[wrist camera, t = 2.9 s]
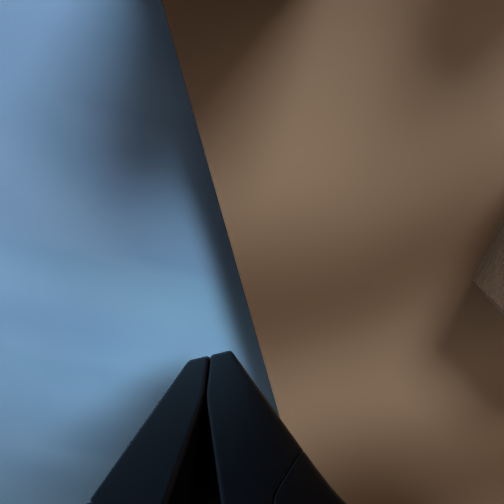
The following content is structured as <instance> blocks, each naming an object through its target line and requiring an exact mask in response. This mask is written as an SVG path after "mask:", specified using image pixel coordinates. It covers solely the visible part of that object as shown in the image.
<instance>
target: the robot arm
mask: <svg viewBox="0 0 504 504" xmlns="http://www.w3.org/2000/svg"><path fill="white" fill-rule="evenodd" d="M87 504H346V502H345V501H344V500H343V499H342V498H341V497H340V496H339V495H338V494H337V493H336V492H335V491H334V489H333V488H332V487H331V486H330V484H329V483H328V482H327V481H326V479H325V478H324V477H323V476H322V474H321V473H320V472H319V471H318V469H317V468H316V467H315V465H314V464H313V463H312V461H311V460H310V458H309V457H308V456H307V454H306V453H305V452H304V451H303V449H302V448H301V446H300V445H299V444H298V442H297V441H296V440H295V438H294V437H293V435H292V434H291V433H290V431H289V430H288V428H287V427H286V426H285V424H284V423H283V422H282V420H281V419H280V417H279V416H278V415H277V413H276V412H275V411H274V409H273V408H272V406H271V405H270V404H269V402H268V401H267V399H266V398H265V397H264V395H263V394H262V393H261V391H260V390H259V388H258V387H257V386H256V384H255V383H254V381H253V380H252V379H251V377H250V376H249V375H248V373H247V372H246V370H245V369H244V368H243V366H242V365H241V364H240V362H239V361H238V359H237V358H236V357H235V355H234V354H233V353H232V352H231V351H226V352H222V353H218V354H214V355H212V356H211V358H209V357H208V356H206V357H202V358H198V359H193V360H190V361H188V362H187V364H186V365H185V366H184V368H183V369H182V371H181V372H180V374H179V375H178V376H177V378H176V379H175V381H174V382H173V383H172V385H171V386H170V388H169V389H168V390H167V392H166V393H165V395H164V396H163V398H162V399H161V400H160V402H159V403H158V405H157V406H156V407H155V409H154V410H153V412H152V413H151V414H150V416H149V417H148V419H147V420H146V422H145V423H144V424H143V426H142V427H141V429H140V430H139V431H138V433H137V434H136V436H135V437H134V438H133V440H132V441H131V443H130V444H129V446H128V447H127V448H126V450H125V451H124V453H123V454H122V455H121V457H120V458H119V460H118V461H117V462H116V464H115V465H114V467H113V468H112V469H111V471H110V472H109V474H108V475H107V477H106V478H105V479H104V481H103V482H102V484H101V485H100V486H99V488H98V489H97V491H96V492H95V493H94V495H93V496H92V498H91V503H87Z"/></svg>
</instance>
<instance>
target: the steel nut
mask: <svg viewBox="0 0 504 504" xmlns="http://www.w3.org/2000/svg"><path fill="white" fill-rule="evenodd" d="M472 280H473V281H474V282H475V283H476V285H477V286H478V287H479V288H480V289H481V290H482V292H483V293H484V294H485V295H486V296H487V298H488V299H489V300H490V301H491V302H492V303H493V305H494V306H495V307H496V308H497V309H498V310H499V312H500V313H501V314H502V315H503V316H504V220H503V222H502V223H501V225H500V227H499V229H498V231H497V233H496V235H495V237H494V239H493V240H492V242H491V244H490V246H489V248H488V250H487V252H486V254H485V256H484V257H483V259H482V261H481V263H480V265H479V267H478V269H477V271H476V273H475V274H474V276H473V278H472Z"/></svg>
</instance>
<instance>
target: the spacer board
mask: <svg viewBox="0 0 504 504" xmlns="http://www.w3.org/2000/svg"><path fill="white" fill-rule="evenodd" d="M161 1H162V4H163V8H164V11H165V15H166V18H167V22H168V25H169V29H170V32H171V36H172V39H173V43H174V46H175V50H176V53H177V57H178V60H179V64H180V67H181V71H182V75H183V78H184V82H185V85H186V89H187V92H188V96H189V99H190V103H191V106H192V110H193V113H194V117H195V120H196V124H197V127H198V131H199V134H200V138H201V141H202V145H203V149H204V152H205V156H206V159H207V163H208V166H209V170H210V173H211V177H212V180H213V184H214V187H215V191H216V194H217V198H218V201H219V205H220V208H221V212H222V215H223V219H224V223H225V226H226V230H227V233H228V237H229V240H230V244H231V247H232V251H233V254H234V258H235V261H236V265H237V268H238V272H239V275H240V279H241V282H242V286H243V289H244V293H245V297H246V300H247V304H248V307H249V311H250V314H251V318H252V321H253V325H254V328H255V332H256V335H257V339H258V342H259V346H260V349H261V353H262V356H263V360H264V364H265V367H266V371H267V374H268V378H269V381H270V385H271V388H272V392H273V395H274V399H275V402H276V406H277V409H278V413H279V416H280V419H281V420H282V422H283V423H284V424H285V426H286V427H287V428H288V430H289V431H290V433H291V434H292V435H293V437H294V438H295V440H296V441H297V442H298V444H299V445H300V446H301V448H302V449H303V451H304V452H305V453H306V454H307V456H308V457H309V458H310V460H311V461H312V463H313V464H314V465H315V467H316V468H317V469H318V471H319V472H320V473H321V474H322V476H323V477H324V478H325V479H326V481H327V482H328V483H329V484H330V486H331V487H332V488H333V489H334V491H335V492H336V493H337V494H338V495H339V496H340V497H341V498H342V499H343V500H344V501H345V502H346V504H504V316H503V315H502V314H501V313H500V312H499V310H498V309H497V308H496V307H495V306H494V305H493V303H492V302H491V301H490V300H489V299H488V298H487V296H486V295H485V294H484V293H483V292H482V290H481V289H480V288H479V287H478V286H477V285H476V283H475V282H474V281H473V280H472V278H473V276H474V274H475V273H476V271H477V269H478V267H479V265H480V263H481V261H482V259H483V257H484V256H485V254H486V252H487V250H488V248H489V246H490V244H491V242H492V240H493V239H494V237H495V235H496V233H497V231H498V229H499V227H500V225H501V223H502V222H503V220H504V0H161Z"/></svg>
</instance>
